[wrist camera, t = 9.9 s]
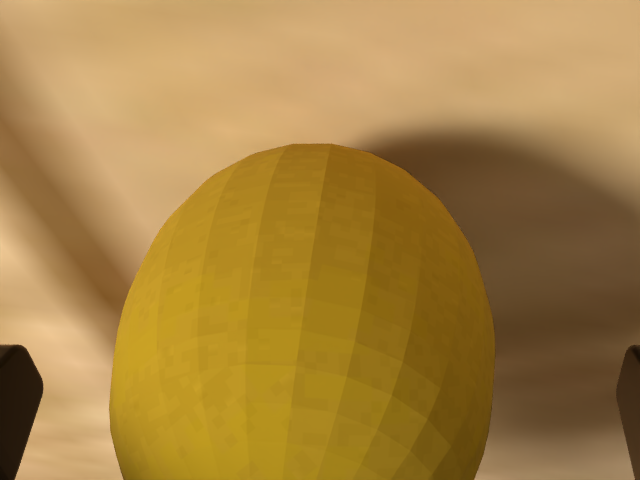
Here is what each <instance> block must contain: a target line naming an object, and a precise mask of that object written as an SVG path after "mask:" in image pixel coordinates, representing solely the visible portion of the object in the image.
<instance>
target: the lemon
mask: <svg viewBox="0 0 640 480" xmlns="http://www.w3.org/2000/svg"><path fill="white" fill-rule="evenodd" d="M494 368H495V333H494V325H493V317H492V313H491V309H490V305H489V301H488V297H487V294H486V290H485V287H484V283H483V280H482V276H481V273H480V269H479V266H478V263H477V261H476V258H475V255H474V252H473V250H472V248H471V246H470V245H469V243H468V241H467V239H466V237H465V236H464V234H463V233H462V231H461V230H460V228H459V227H458V225H457V224H456V222H455V221H454V219H453V218H452V216H451V215H450V213H449V212H448V210H447V209H446V207H445V206H444V205H443V204H442V202H441V201H440V200H439V198H438V197H436V196H435V195H434V194H433V193H432V192H430V191H429V190H428V189H427V188H426V187H424V186H423V185H422V184H421V183H420V182H418V181H417V180H416V179H415V178H414V177H413V176H411V175H410V174H409V173H408V172H406V171H405V170H404V169H402V168H400V167H398V166H396V165H394V164H392V163H390V162H388V161H386V160H384V159H382V158H380V157H378V156H376V155H374V154H372V153H370V152H365V151H361V150H357V149H352V148H348V147H344V146H340V145H335V144H291V145H287V146H283V147H278V148H274V149H270V150H266V151H262V152H258V153H255V154H253V155H250V156H248V157H246V158H244V159H242V160H240V161H238V162H237V163H235V164H233V165H231V166H229V167H227V168H225V169H223V170H221V171H220V172H218V173H216V174H215V175H213V176H212V177H210V178H209V179H208V180H206V181H205V182H204V183H203V184H202V185H201V186H200V187H199V188H198V189H197V190H196V191H195V192H194V193H193V194H192V195H191V196H190V197H189V198H188V199H187V200H186V201H185V202H184V203H183V204H182V205H181V206H180V207H179V208H178V209H177V210H176V211H175V212H174V213H173V214H172V215H171V216H170V217H169V219H168V220H167V221H166V223H165V224H164V225H163V227H162V228H161V229H160V231H159V233H158V234H157V236H156V238H155V239H154V241H153V243H152V245H151V247H150V249H149V251H148V253H147V255H146V257H145V259H144V261H143V263H142V265H141V267H140V269H139V271H138V273H137V275H136V277H135V279H134V281H133V284H132V286H131V288H130V290H129V293H128V296H127V299H126V302H125V305H124V308H123V311H122V315H121V319H120V324H119V328H118V332H117V339H116V345H115V351H114V360H113V369H112V379H111V391H110V404H109V412H110V431H111V435H112V440H113V444H114V448H115V452H116V456H117V459H118V463H119V466H120V469H121V473H122V476H123V479H124V480H474V478H475V476H476V473H477V470H478V468H479V465H480V462H481V460H482V457H483V454H484V450H485V445H486V441H487V436H488V432H489V425H490V418H491V411H492V397H493V383H494Z"/></svg>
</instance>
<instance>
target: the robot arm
mask: <svg viewBox="0 0 640 480" xmlns="http://www.w3.org/2000/svg"><path fill="white" fill-rule="evenodd" d="M42 394H43V381H42V378H41V376H40V374H39V372H38V370H37V368H36V366H35V364H34V362H33V360H32V358H31V356H30V354H29V352H28V351H27V349H26V348H25V347H23V346H22V345H0V480H15V477H16V474H17V472H18V469H19V466H20V463H21V459H22V456H23V453H24V450H25V447H26V444H27V441H28V438H29V435H30V432H31V429H32V426H33V423H34V419H35V416H36V413H37V410H38V407H39V404H40V401H41V398H42ZM616 394H617V402H618V407H619V411H620V416H621V420H622V424H623V429H624V433H625V437H626V442H627V446H628V451H629V455H630V459H631V464H632V468H633V473H634V477H635V480H640V345H633V346H630V347H629V348H628V349H627V351H626V354H625V357H624V361H623V365H622V368H621V372H620V375H619V379H618V383H617V390H616Z"/></svg>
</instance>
